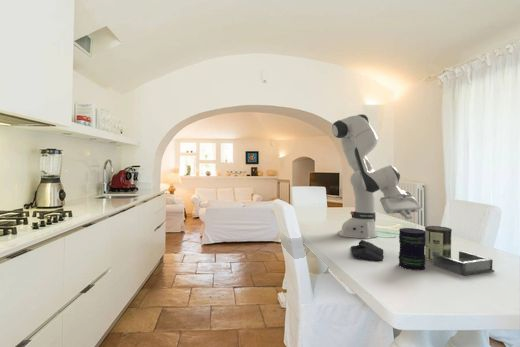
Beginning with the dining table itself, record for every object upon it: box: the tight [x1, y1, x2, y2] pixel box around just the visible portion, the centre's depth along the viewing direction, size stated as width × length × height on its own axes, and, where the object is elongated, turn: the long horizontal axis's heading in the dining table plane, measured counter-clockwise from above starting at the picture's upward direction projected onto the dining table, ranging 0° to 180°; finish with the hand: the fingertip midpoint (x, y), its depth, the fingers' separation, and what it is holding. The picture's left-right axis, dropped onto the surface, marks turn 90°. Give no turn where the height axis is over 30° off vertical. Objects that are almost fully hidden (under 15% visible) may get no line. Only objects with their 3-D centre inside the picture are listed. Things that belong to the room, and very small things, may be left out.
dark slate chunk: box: [350, 239, 384, 262], centre depth 145 cm, size 15×22×5 cm
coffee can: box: [424, 225, 453, 263], centre depth 136 cm, size 10×10×14 cm
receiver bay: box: [432, 250, 495, 277], centre depth 125 cm, size 14×16×4 cm
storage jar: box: [398, 227, 426, 271], centre depth 126 cm, size 10×10×15 cm
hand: (409, 218), depth 151 cm, fingers closed
